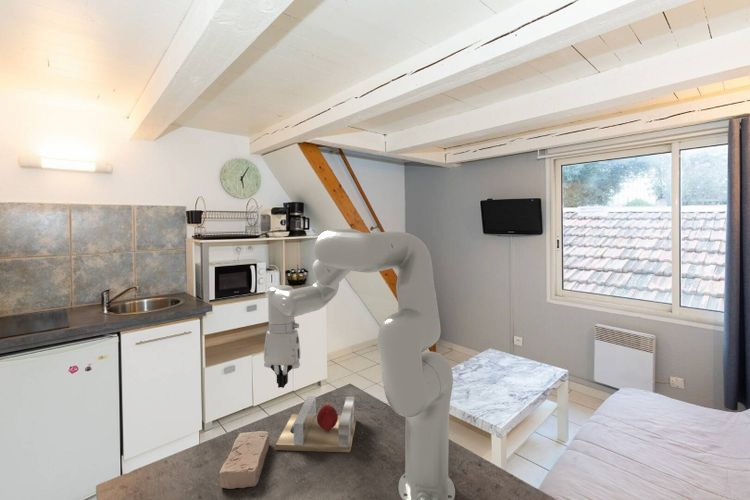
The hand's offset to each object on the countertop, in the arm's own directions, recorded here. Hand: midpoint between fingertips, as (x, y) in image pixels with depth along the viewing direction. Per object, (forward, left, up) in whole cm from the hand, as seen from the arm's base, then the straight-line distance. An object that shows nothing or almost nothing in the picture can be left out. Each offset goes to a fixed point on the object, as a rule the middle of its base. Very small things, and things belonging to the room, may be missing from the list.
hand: (282, 385), depth 107 cm
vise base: (-6, -12, -11) cm, 18 cm away
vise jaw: (-6, -8, -10) cm, 14 cm away
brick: (-20, +3, -12) cm, 23 cm away
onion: (-7, -15, -10) cm, 19 cm away
